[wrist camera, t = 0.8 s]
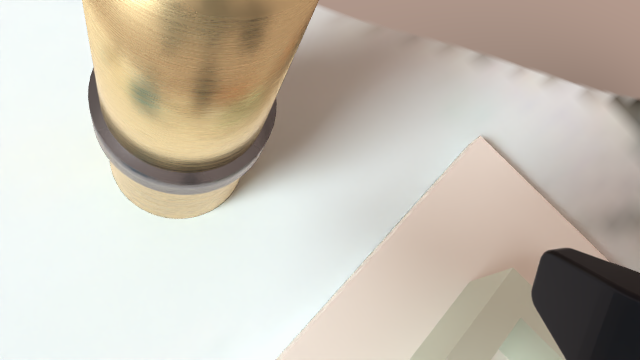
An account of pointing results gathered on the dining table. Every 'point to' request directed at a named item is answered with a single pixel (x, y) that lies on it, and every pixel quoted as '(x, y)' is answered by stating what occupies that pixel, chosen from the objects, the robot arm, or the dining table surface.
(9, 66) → the dining table surface
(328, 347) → the shaft mount
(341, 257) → the dining table surface
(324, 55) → the dining table surface
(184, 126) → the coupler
